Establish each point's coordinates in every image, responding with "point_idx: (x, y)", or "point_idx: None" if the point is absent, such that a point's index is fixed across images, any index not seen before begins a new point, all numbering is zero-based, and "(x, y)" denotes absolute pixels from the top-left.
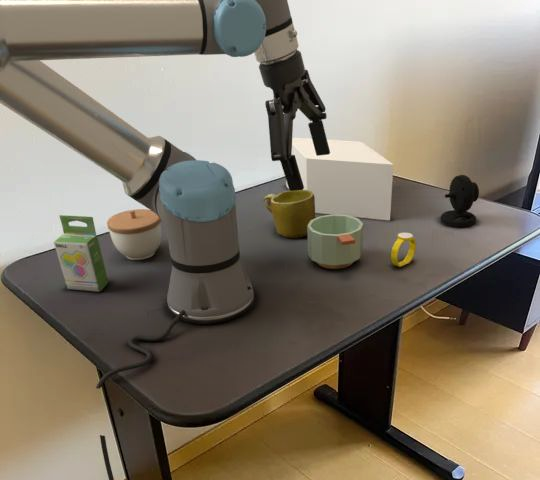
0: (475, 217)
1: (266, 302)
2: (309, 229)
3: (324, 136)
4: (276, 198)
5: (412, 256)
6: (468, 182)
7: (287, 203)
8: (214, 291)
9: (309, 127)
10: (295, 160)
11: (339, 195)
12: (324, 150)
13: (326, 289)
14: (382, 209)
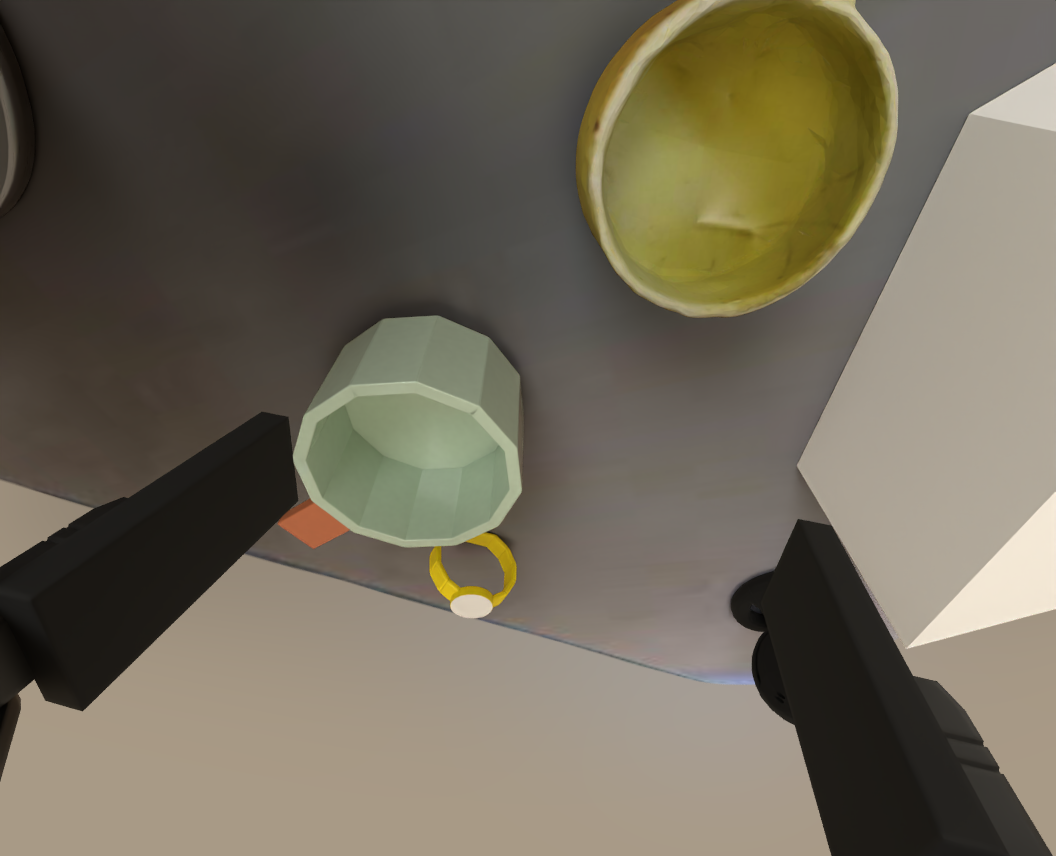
0: None
1: (32, 267)
2: (323, 400)
3: (802, 744)
4: (797, 5)
5: (499, 559)
6: (793, 723)
7: (592, 194)
8: None
9: (917, 784)
10: (119, 661)
11: (937, 337)
12: (779, 609)
13: (242, 410)
14: (824, 470)
